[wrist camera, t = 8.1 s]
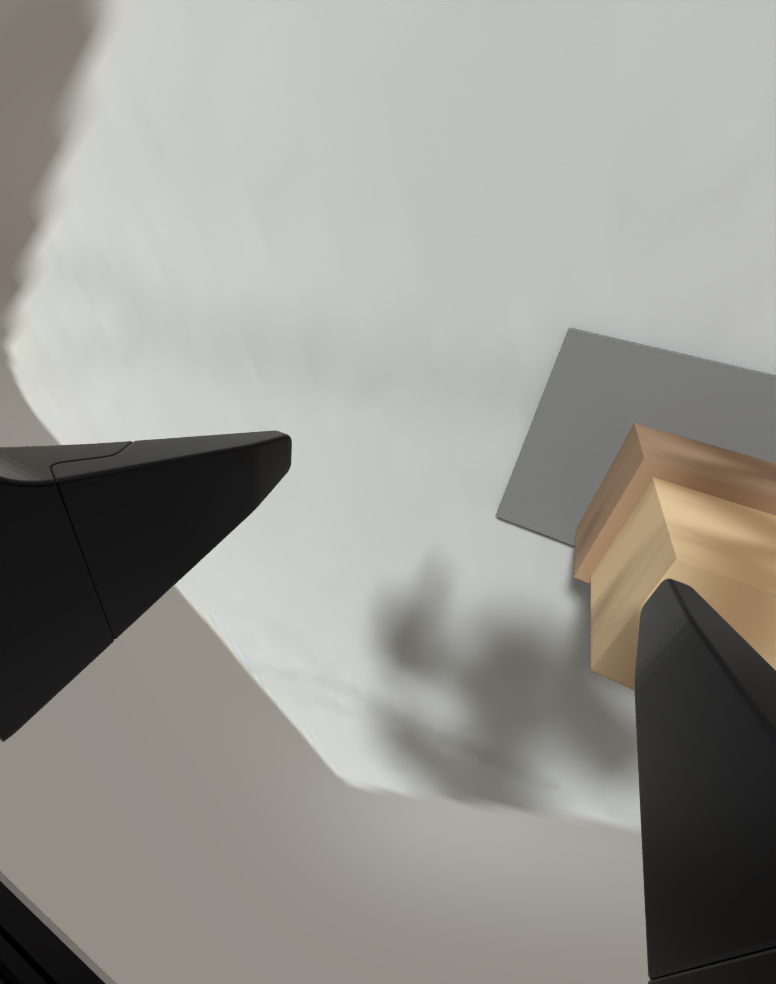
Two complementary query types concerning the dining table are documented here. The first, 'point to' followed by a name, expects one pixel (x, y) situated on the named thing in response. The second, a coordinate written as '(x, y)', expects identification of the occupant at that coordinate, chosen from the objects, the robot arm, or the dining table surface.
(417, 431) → the dining table surface
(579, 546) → the walnut block
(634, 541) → the oak cube
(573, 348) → the slate mat
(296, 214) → the dining table surface
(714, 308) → the dining table surface
